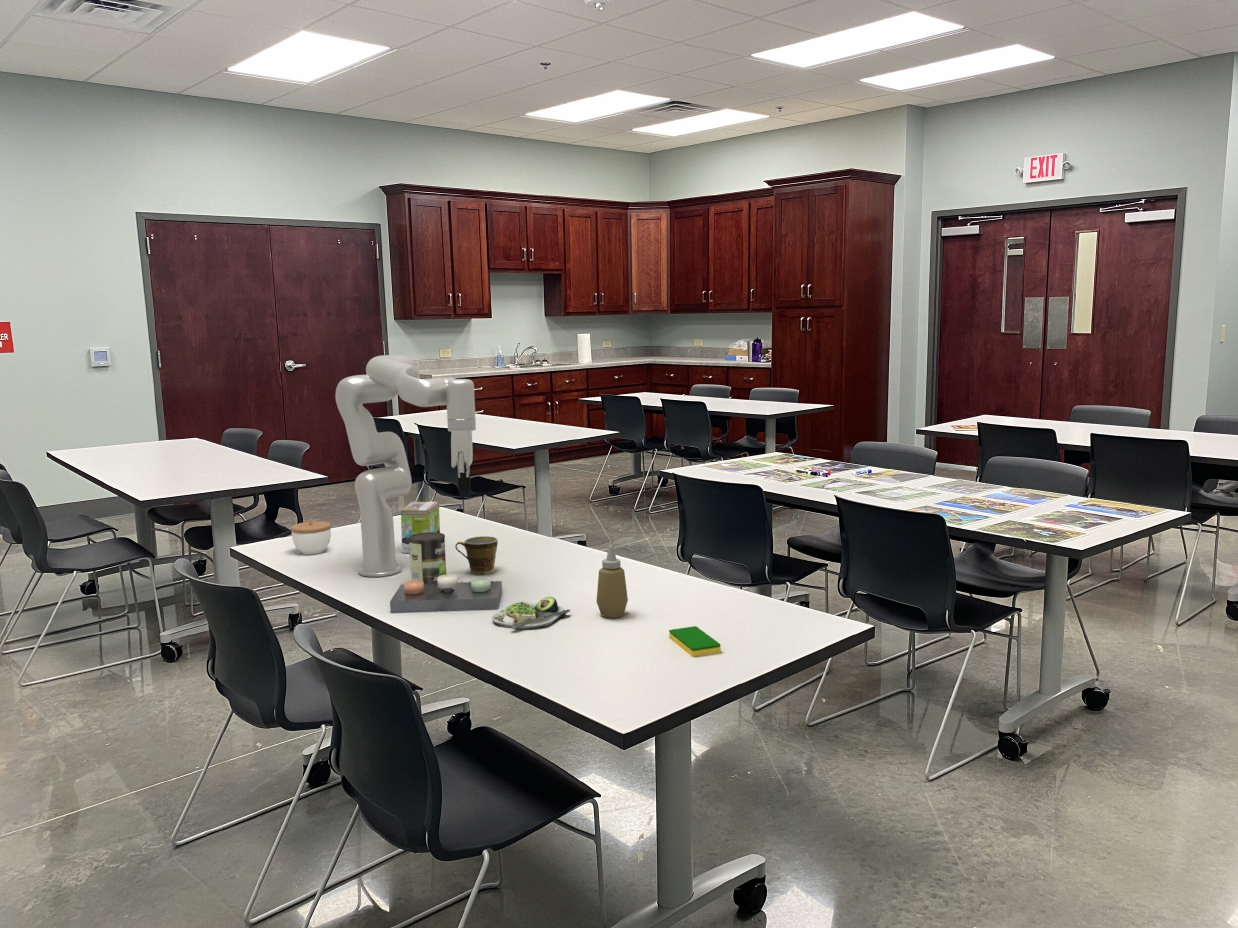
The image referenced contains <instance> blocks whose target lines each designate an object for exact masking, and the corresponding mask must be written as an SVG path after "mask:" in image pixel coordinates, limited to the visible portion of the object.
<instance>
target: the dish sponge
mask: <svg viewBox="0 0 1238 928" xmlns="http://www.w3.org/2000/svg"><path fill="white" fill-rule="evenodd" d="M668 632H669V635H668V638H669V639H670V640H671V641H672V642H674V643H675V644H676V645H677V646H679V648H681V649H682V650H683V651H685V652H686V653H687V654H688V655H689V656H690V657H693V658H694V657H695V658H696V657H702V656H708V655H714V654H721V647H722V645H721V643H720V642H718V641H717V640H716V639H714V638H713V637H711V636H710V635H709V634H707V633H706V632H705V631H704V630H702V629H701V628H700V627H698V626H696V625H695V626H687V627H681V628H672V629H669V630H668Z"/></svg>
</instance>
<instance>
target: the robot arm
mask: <svg viewBox="0 0 1238 928" xmlns="http://www.w3.org/2000/svg"><path fill="white" fill-rule="evenodd" d="M365 367H366V368H365V372H366V374H356V375H351V376H347V377H345V378H343V379H341V380H340V381H339V382H338V384H337V386H336V389H335V403H336V406H337V409H338V411H339V413H340V416H341V419H342V421H343V423H344V425H345V429H346V434H347V435H346V436H347V438H348V443H349V447H350V450H351V455H352V458H353V460H354V462H355V463H356V464H357V465H359V466H361V467H368V466H375V465H381V464H384V467H381V468H380V467H379V468H372V469H369V470H365V471H363V472H361V473H360V474H359V475H357V477H356V478H355V481H354V490H355V493H356V497H357V501H358V508H359V515H360V529H361V543H362V544H361V545H362V560H363V566H361V567H360V568H359V569H358V574H359V575H360V576H362V577H370V578H377V577H379V578H381V577H387V576H393V575H395V574H398V573H400V572H401V570H402V565H400V564H399V563H397V562H396V561H397V560H396V545H395V542H396V541H395V529H394V526H395V525H394V515H393V510H392V509H391V507H390V506H389V504H388V503H387V501H386V500H389V499H393V498H399V497H401V496H402V497H403V496H404V495H407V494H408V493H410V490H411V489H412V483H413V481H412V475H411V470H410V466H409V462H408V458H407V454H406V449H405V447H404V443H403V441H402V440H401V438H400V436H399V435H398V434H397V433H395V432H393V431H382V432H378V431H377V428H376V423H375V420H374V417H373V415H372V414H371V412H370V411H369V410H368V409H367V408H366V407H364V406H363V404H371V403H372V404H373V403H382V402H388V401H390V400H392V399H395V397H397V395H398V396H399V397H400V399H401V400H402V401H404V402H405V403H408V404H411V405H413V406H416V407H420V408H428V407H437V406H446V414H447V415H446V418H447V419H446V420H447V421H446V422H447V431H448V432H450V433H451V435H450V437H451V438H450V451H451V452H450V454H451V455H450V457H451V459H450V461H451V464H450V465H451V468H453V469H455V467H456V466H457V476H458V477H457V485H458V492H459V493H470V492H471V490H472V486H471V485H472V483H471V476H470V475H471V471H470V466H471V465H472V463H473V459H474V458H473V456H474V453H473V432H474V431H476V429H477V425H476V424H477V423H476V402H475V401H476V399H475V384H474V381H473V380H471V379H467V378H455V377H450V376H449V377H447V376H446V377H433V378H423V379H422V378H421V375H420V371H419V370H418V368H417V367H416V363H415V362H414V360H413V359H412V358H411V357H410V356H408V355H405V354H387V355H386V354H384V355H383V354H382V355H377V356H374V357H373V358H371V359H370V360H369V361H368V362H367V364H366V366H365Z"/></svg>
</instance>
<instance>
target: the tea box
mask: <svg viewBox="0 0 1238 928" xmlns="http://www.w3.org/2000/svg"><path fill="white" fill-rule="evenodd" d="M400 520H401V521H400V524H401V526H400V527H401V529H400V531H401V532H400V533H401V551H402V553H403V554H410V544H409V536H411V535H414V534H418V533H426V532H437V533H441V528H440V526H441V525H440V524H441V522H440V502H439V501H411V502H409V503H408V504H407V505H406V506H404V507H403V508H401V510H400Z"/></svg>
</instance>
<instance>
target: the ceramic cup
mask: <svg viewBox="0 0 1238 928" xmlns="http://www.w3.org/2000/svg"><path fill="white" fill-rule="evenodd" d="M498 541H499V539H498V538H497V537H495V536H488V535H487V536H485V535H483V536H473V537H469V538H467V539H465V540H464V541H458V542H456V544H455V550H456V551H457V552H458V553H459V554H462V556H463V557H464V558H466V560H467V561H468V566H469V569H470V574H472V573H473V574H472V575H474V574H475V576H486V575H485V574H487V575H491V574H490V573H492V572H494V570H495V566H496V565H495V563H496V555H497V554H496V553H497V550H498V543H499V542H498ZM458 545H461V546H462V547H464V550H465V552H466V554H465V553H463V552H462V551H461V550H459V549H458ZM492 574H493V573H492Z"/></svg>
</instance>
